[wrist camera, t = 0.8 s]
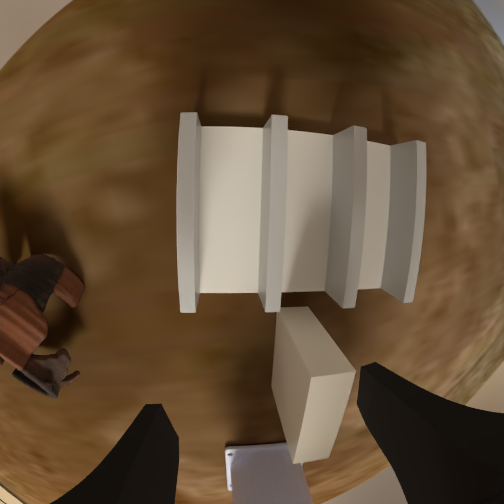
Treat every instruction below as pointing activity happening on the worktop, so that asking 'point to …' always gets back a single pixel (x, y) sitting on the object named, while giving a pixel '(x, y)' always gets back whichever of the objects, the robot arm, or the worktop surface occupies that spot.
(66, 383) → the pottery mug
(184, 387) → the worktop surface
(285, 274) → the dish rack
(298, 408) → the beige rectangular block
